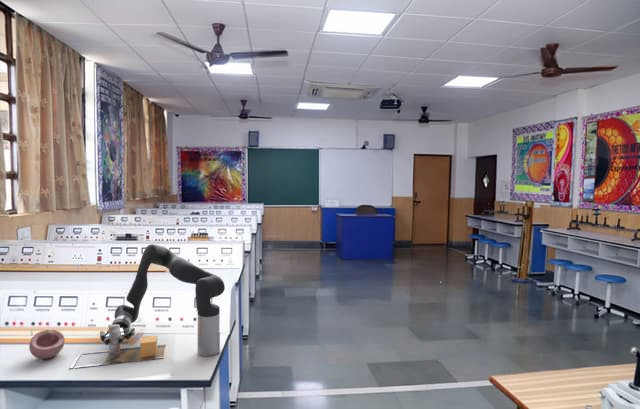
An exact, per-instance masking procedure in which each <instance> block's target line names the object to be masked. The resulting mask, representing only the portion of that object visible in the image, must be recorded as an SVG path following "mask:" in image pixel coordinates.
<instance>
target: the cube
mask: <svg viewBox="0 0 640 409" xmlns="http://www.w3.org/2000/svg"><path fill="white" fill-rule="evenodd" d="M157 345H158V335H151V336H142V337H141V339H140V342H139V347H140V357H146V356H155V355H156V353H157Z"/></svg>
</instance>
